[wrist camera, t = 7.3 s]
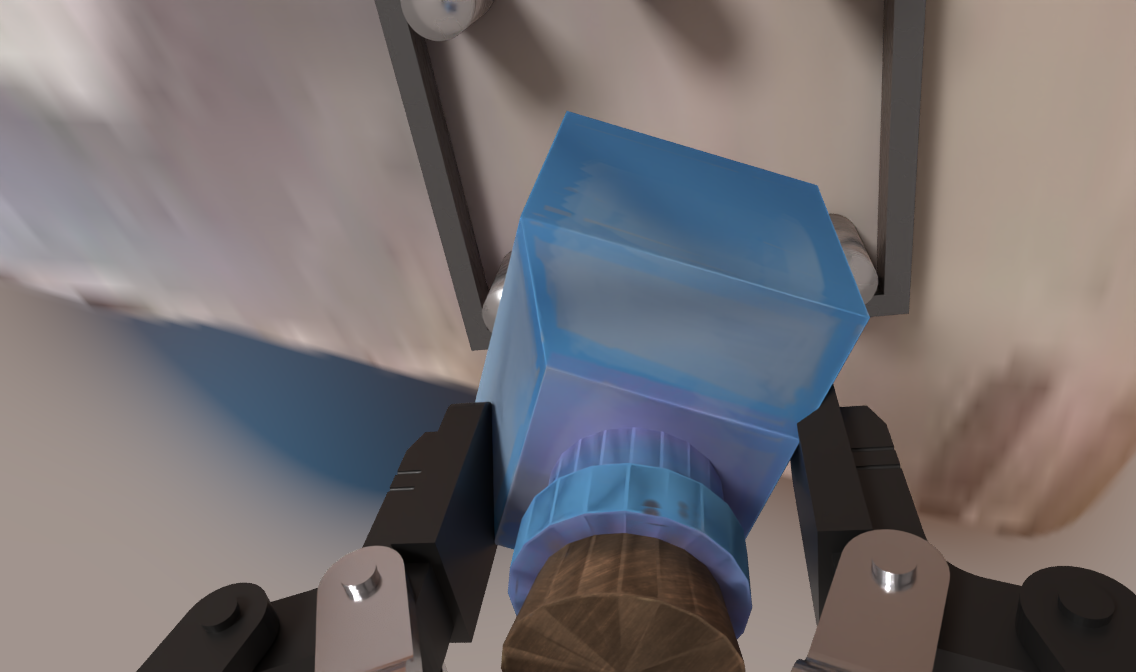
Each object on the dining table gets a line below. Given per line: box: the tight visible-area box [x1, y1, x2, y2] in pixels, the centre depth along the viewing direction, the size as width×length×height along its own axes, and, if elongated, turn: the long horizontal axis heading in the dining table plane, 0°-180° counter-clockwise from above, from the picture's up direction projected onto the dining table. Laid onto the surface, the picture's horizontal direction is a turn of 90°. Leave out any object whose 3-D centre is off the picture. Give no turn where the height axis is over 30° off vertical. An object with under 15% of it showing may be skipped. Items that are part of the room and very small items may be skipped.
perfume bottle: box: [475, 111, 870, 672], centre depth 15 cm, size 6×6×12 cm
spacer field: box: [375, 0, 926, 351], centre depth 29 cm, size 19×18×4 cm
